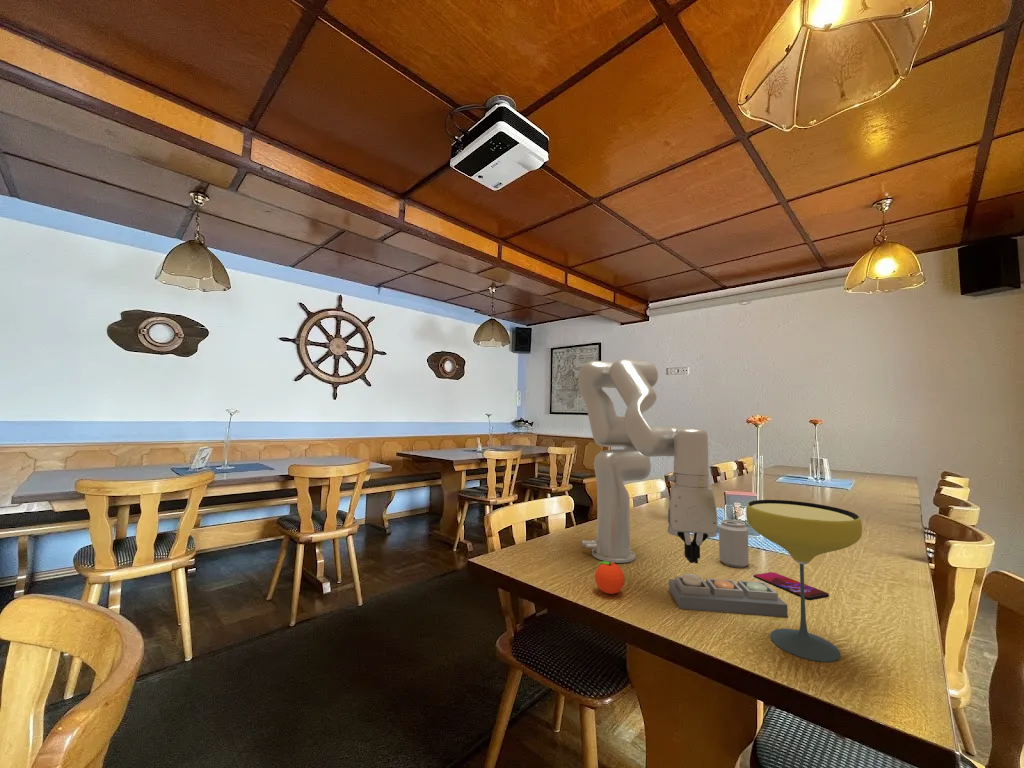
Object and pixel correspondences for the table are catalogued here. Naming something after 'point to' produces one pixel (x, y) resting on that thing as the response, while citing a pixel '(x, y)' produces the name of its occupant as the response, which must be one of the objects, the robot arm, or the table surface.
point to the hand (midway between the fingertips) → (692, 561)
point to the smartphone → (791, 585)
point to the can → (733, 543)
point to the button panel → (727, 598)
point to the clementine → (609, 577)
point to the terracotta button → (723, 584)
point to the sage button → (756, 586)
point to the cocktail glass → (804, 556)
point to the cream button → (692, 580)
